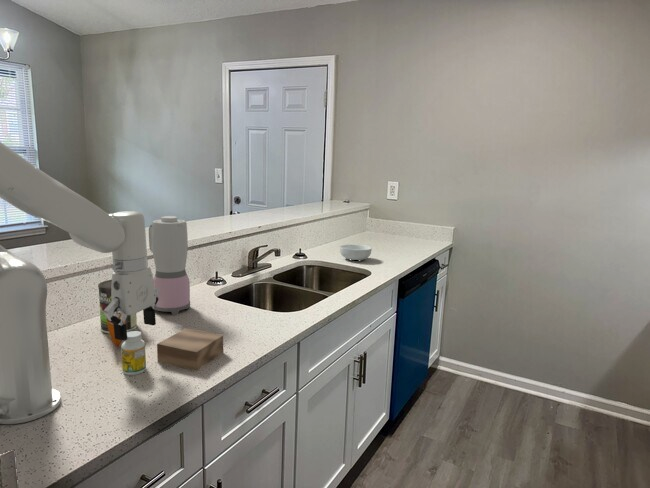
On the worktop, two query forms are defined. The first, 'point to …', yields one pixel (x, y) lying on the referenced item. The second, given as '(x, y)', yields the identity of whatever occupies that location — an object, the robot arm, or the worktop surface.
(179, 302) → the blender
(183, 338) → the brown cardboard box
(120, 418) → the worktop surface
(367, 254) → the cereal bowl
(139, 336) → the supplement bottle
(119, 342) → the carrot
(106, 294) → the food can
